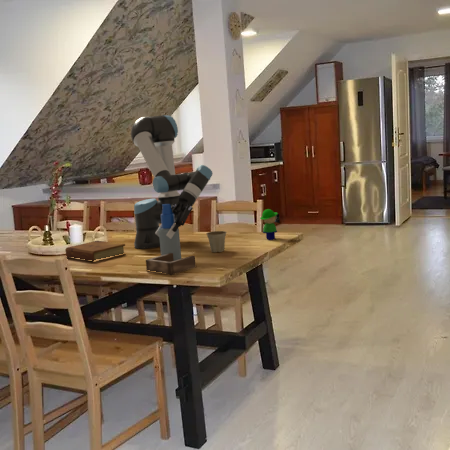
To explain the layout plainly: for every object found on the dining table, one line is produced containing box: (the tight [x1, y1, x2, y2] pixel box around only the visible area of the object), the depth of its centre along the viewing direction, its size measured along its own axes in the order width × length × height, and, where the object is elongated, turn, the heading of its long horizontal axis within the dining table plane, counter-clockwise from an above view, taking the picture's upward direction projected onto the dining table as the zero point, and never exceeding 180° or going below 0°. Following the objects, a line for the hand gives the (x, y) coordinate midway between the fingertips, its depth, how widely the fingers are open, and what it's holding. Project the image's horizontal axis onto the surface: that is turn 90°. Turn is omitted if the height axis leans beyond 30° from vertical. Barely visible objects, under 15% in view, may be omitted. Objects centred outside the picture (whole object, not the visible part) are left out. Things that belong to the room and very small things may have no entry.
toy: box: [260, 208, 281, 241], centre depth 298 cm, size 9×9×15 cm
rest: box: [145, 253, 197, 276], centre depth 250 cm, size 15×14×5 cm
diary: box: [65, 240, 126, 261], centre depth 291 cm, size 23×19×6 cm
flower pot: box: [206, 230, 227, 253], centre depth 279 cm, size 9×9×9 cm
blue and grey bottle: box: [159, 204, 182, 261], centre depth 267 cm, size 9×9×25 cm
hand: (162, 236), depth 265 cm, fingers closed on blue and grey bottle, 8 cm apart
